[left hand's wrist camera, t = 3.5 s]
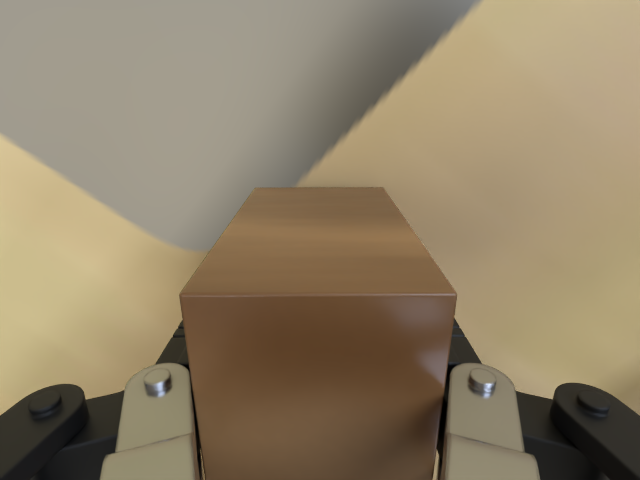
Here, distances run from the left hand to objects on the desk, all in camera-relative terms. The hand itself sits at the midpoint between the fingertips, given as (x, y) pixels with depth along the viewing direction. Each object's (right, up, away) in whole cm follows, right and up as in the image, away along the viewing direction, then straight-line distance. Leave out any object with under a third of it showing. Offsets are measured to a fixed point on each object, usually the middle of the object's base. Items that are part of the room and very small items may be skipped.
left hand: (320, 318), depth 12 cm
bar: (0, -7, +7) cm, 10 cm away
